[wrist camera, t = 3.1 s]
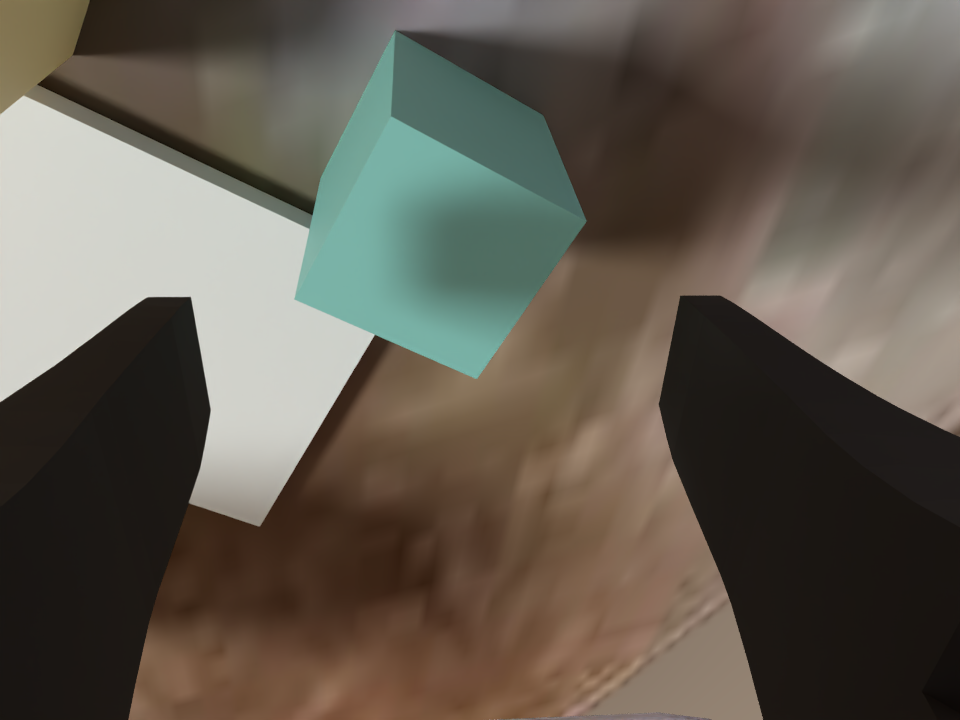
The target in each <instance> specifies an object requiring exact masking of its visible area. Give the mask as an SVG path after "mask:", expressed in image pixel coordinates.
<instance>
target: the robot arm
mask: <svg viewBox="0 0 960 720" xmlns="http://www.w3.org/2000/svg"><path fill="white" fill-rule="evenodd" d="M659 407H660V411H661V416H662V420H663V424H664V428H665V433H666V437H667V440H668V444H669V448H670V452H671V455H672V459H673V462H674V464H675V467H676V469H677V472H678V474H679V477H680V479H681V481H682V484H683V486H684V489H685V491H686V494H687V496H688V499H689V501H690V503H691V506H692V508H693V510H694V513H695V515H696V518H697V520H698V522H699V525H700V527H701V529H702V532H703V534H704V536H705V539H706V541H707V544H708V546H709V548H710V551H711V553H712V555H713V558H714V560H715V563H716V565H717V567H718V570H719V572H720V574H721V577H722V580H723V582H724V585H725V588H726V591H727V593H728V596H729V599H730V602H731V605H732V608H733V612H734V615H735V618H736V622H737V625H738V628H739V632H740V635H741V639H742V642H743V645H744V649H745V653H746V656H747V660H748V663H749V667H750V671H751V674H752V678H753V682H754V686H755V690H756V694H757V697H758V701H759V705H760V709H761V713H762V716H763V720H960V437H958V436H956V435H954V434H952V433H949V432H947V431H945V430H943V429H941V428H939V427H937V426H935V425H933V424H931V423H929V422H927V421H925V420H923V419H921V418H918V417H916V416H914V415H912V414H910V413H908V412H906V411H904V410H902V409H900V408H898V407H897V406H895V405H893V404H891V403H889V402H887V401H885V400H884V399H882V398H880V397H878V396H876V395H875V394H873V393H871V392H870V391H868V390H866V389H865V388H863V387H861V386H860V385H858V384H856V383H854V382H853V381H851V380H849V379H848V378H846V377H844V376H843V375H841V374H839V373H838V372H836V371H835V370H833V369H832V368H830V367H828V366H827V365H825V364H824V363H822V362H821V361H819V360H818V359H816V358H814V357H813V356H811V355H810V354H808V353H807V352H805V351H804V350H802V349H801V348H799V347H798V346H796V345H795V344H794V343H792V342H791V341H789V340H788V339H786V338H785V337H783V336H782V335H780V334H779V333H777V332H776V331H775V330H773V329H772V328H770V327H769V326H767V325H766V324H764V323H763V322H761V321H760V320H758V319H757V318H756V317H754V316H753V315H751V314H750V313H748V312H747V311H745V310H744V309H742V308H740V307H739V306H737V305H736V304H734V303H732V302H731V301H729V300H727V299H725V298H724V297H722V296H680V301H679V306H678V311H677V316H676V321H675V326H674V331H673V336H672V341H671V346H670V351H669V356H668V361H667V366H666V371H665V376H664V381H663V387H662V392H661V397H660V402H659ZM210 413H211V408H210V402H209V397H208V391H207V385H206V379H205V374H204V368H203V362H202V357H201V351H200V345H199V340H198V334H197V328H196V323H195V317H194V311H193V306H192V300H191V297H147V298H145V299H144V300H142V301H141V302H139V303H138V304H136V305H135V306H133V307H132V308H130V309H129V310H128V311H126V312H125V313H124V314H122V315H121V316H120V317H118V318H117V319H116V320H115V321H113V322H112V323H111V324H109V325H108V326H107V327H105V328H104V329H103V330H101V331H100V332H99V333H98V334H96V335H95V336H94V337H92V338H91V339H90V340H88V341H87V342H86V343H84V344H83V345H81V346H80V347H79V348H77V349H76V350H75V351H73V352H72V353H71V354H69V355H68V356H67V357H65V358H64V359H63V360H61V361H60V362H59V363H57V364H56V365H55V366H53V367H52V368H50V369H49V370H47V371H46V372H44V373H43V374H41V375H40V376H38V377H37V378H35V379H34V380H32V381H31V382H29V383H28V384H26V385H25V386H23V387H22V388H20V389H19V390H17V391H16V392H14V393H13V394H11V395H10V396H9V397H7V398H6V399H4V400H3V401H1V402H0V720H128V718H129V713H130V708H131V703H132V698H133V693H134V688H135V683H136V679H137V674H138V670H139V665H140V661H141V656H142V652H143V647H144V643H145V638H146V634H147V629H148V625H149V620H150V617H151V614H152V610H153V607H154V603H155V600H156V597H157V593H158V590H159V587H160V584H161V582H162V579H163V576H164V573H165V570H166V567H167V564H168V561H169V559H170V556H171V553H172V550H173V547H174V544H175V541H176V538H177V535H178V533H179V530H180V527H181V524H182V521H183V518H184V515H185V512H186V509H187V507H188V504H189V501H190V498H191V495H192V492H193V489H194V486H195V483H196V480H197V477H198V474H199V471H200V467H201V462H202V457H203V452H204V447H205V442H206V436H207V431H208V425H209V419H210ZM501 720H710V719H706V718H698V717H690V716H681V715H674V714H665V713H639V714H616V715H592V716H570V717H547V718H524V719H501Z"/></svg>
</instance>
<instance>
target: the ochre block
mask: <svg viewBox="0 0 960 720" xmlns="http://www.w3.org/2000/svg"><path fill="white" fill-rule="evenodd" d="M89 2H90V0H0V114H1V113H3V112H4V111H5V110H6V109H8V108H9V107H10V106H11V105H12V104H14V103H15V102H16V101H17V100H19V99H20V98H21V97H22V96H23V95H25V94H26V93H27V92H28V91H30V90H31V89H32V88H33V87H34V86H36V85H37V84H38V83H39V82H41V81H42V80H43V79H44V78H46V77H47V76H48V75H49V74H50V73H52V72H53V71H54V70H55V69H57V68H58V67H59V66H60V65H61V64H63V63H64V62H65V61H66V60H68V59H69V58H70V57H71V56H72V55H73V53H74V50H75V46H76V43H77V40H78V37H79V34H80V31H81V27H82V24H83V21H84V18H85V15H86V12H87V8H88V5H89Z"/></svg>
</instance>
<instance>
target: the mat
mask: <svg viewBox="0 0 960 720" xmlns="http://www.w3.org/2000/svg"><path fill="white" fill-rule="evenodd" d="M312 216H313V215H311V214H309V213H306V212H304V211H302V210H300V209H298V208H296V207H294V206H292V205H290V204H288V203H285V202H283V201H281V200H279V199H277V198H275V197H273V196H271V195H269V194H266V193H264V192H262V191H260V190H258V189H256V188H254V187H252V186H250V185H247V184H245V183H243V182H241V181H239V180H237V179H235V178H233V177H231V176H229V175H226V174H224V173H222V172H220V171H218V170H216V169H214V168H212V167H210V166H207V165H205V164H203V163H201V162H199V161H197V160H195V159H193V158H191V157H189V156H186V155H184V154H182V153H180V152H178V151H176V150H174V149H172V148H170V147H167V146H165V145H163V144H161V143H159V142H157V141H155V140H153V139H151V138H148V137H146V136H144V135H142V134H140V133H138V132H136V131H134V130H132V129H130V128H127V127H125V126H123V125H121V124H119V123H117V122H115V121H113V120H111V119H108V118H106V117H104V116H102V115H100V114H98V113H96V112H94V111H92V110H90V109H87V108H85V107H83V106H81V105H79V104H77V103H75V102H73V101H71V100H68V99H66V98H64V97H62V96H60V95H58V94H56V93H54V92H52V91H49V90H47V89H45V88H43V87H41V86H39V85H36V86H34V87H33V88H32V89H31V90H30V91H28V92H27V93H26V94H25V95H23V96H22V97H21V98H20V99H19V100H17V101H16V102H15V103H14V104H12V105H11V106H10V107H9V108H8V109H6V110H5V111H4V112H3V113H1V114H0V402H1V401H3V400H4V399H6V398H7V397H9V396H10V395H11V394H13V393H14V392H16V391H17V390H19V389H20V388H22V387H23V386H25V385H26V384H28V383H29V382H31V381H32V380H34V379H35V378H37V377H38V376H40V375H41V374H43V373H44V372H46V371H47V370H49V369H50V368H52V367H53V366H55V365H56V364H57V363H59V362H60V361H61V360H63V359H64V358H65V357H67V356H68V355H69V354H71V353H72V352H73V351H75V350H76V349H77V348H79V347H80V346H81V345H83V344H84V343H86V342H87V341H88V340H90V339H91V338H92V337H94V336H95V335H96V334H98V333H99V332H100V331H101V330H103V329H104V328H105V327H107V326H108V325H109V324H111V323H112V322H113V321H115V320H116V319H117V318H118V317H120V316H121V315H122V314H124V313H125V312H126V311H128V310H129V309H130V308H132V307H133V306H135V305H136V304H138V303H139V302H141V301H142V300H144V299H145V298H147V297H191V300H192V306H193V311H194V317H195V323H196V328H197V334H198V340H199V345H200V351H201V357H202V362H203V368H204V374H205V379H206V385H207V391H208V397H209V402H210V408H211V413H210V419H209V425H208V431H207V436H206V442H205V447H204V452H203V457H202V462H201V467H200V471H199V474H198V477H197V480H196V483H195V486H194V489H193V492H192V495H191V498H190V501H189V503H190V504H193V505H196V506H199V507H202V508H205V509H208V510H211V511H214V512H217V513H220V514H223V515H226V516H229V517H232V518H235V519H238V520H241V521H244V522H247V523H250V524H253V525H256V526H259V527H260V525H261V524H262V522H263V520H264V519H265V517H266V515H267V514H268V512H269V510H270V509H271V507H272V505H273V504H274V502H275V500H276V499H277V497H278V495H279V494H280V492H281V490H282V489H283V487H284V485H285V484H286V482H287V480H288V479H289V477H290V475H291V474H292V472H293V470H294V469H295V467H296V465H297V464H298V462H299V460H300V459H301V457H302V455H303V454H304V452H305V450H306V449H307V447H308V445H309V444H310V442H311V440H312V439H313V437H314V435H315V434H316V432H317V430H318V429H319V427H320V425H321V424H322V422H323V420H324V419H325V417H326V415H327V414H328V412H329V410H330V409H331V407H332V405H333V404H334V402H335V400H336V399H337V397H338V395H339V394H340V392H341V390H342V389H343V387H344V385H345V384H346V382H347V380H348V379H349V377H350V375H351V374H352V372H353V370H354V369H355V367H356V365H357V364H358V362H359V360H360V359H361V357H362V355H363V354H364V352H365V350H366V349H367V347H368V345H369V344H370V342H371V340H372V339H373V337H374V335H375V334H372V333H370V332H368V331H365V330H363V329H361V328H358V327H356V326H354V325H352V324H349V323H347V322H345V321H342V320H340V319H338V318H336V317H333V316H331V315H329V314H326V313H324V312H322V311H319V310H317V309H315V308H313V307H310V306H308V305H306V304H303V303H301V302H299V301H297V300H294V298H295V294H296V289H297V284H298V280H299V275H300V271H301V266H302V262H303V257H304V252H305V248H306V243H307V239H308V234H309V230H310V225H311V220H312Z"/></svg>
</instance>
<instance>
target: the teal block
mask: <svg viewBox="0 0 960 720" xmlns="http://www.w3.org/2000/svg"><path fill="white" fill-rule="evenodd" d="M585 223H586V218H585V216H584V213H583V211H582V209H581V206H580V204H579V201H578V199H577V196H576V194H575V191H574V189H573V187H572V184H571V182H570V179H569V177H568V174H567V172H566V170H565V167H564V165H563V162H562V160H561V157H560V155H559V152H558V150H557V148H556V145H555V143H554V140H553V138H552V135H551V133H550V131H549V128H548V126H547V123H546V121H545V118H544V116H543V115H542V114H540V113H538V112H537V111H535V110H533V109H531V108H530V107H528V106H526V105H524V104H523V103H521V102H519V101H517V100H516V99H514V98H512V97H510V96H509V95H507V94H505V93H503V92H502V91H500V90H498V89H497V88H495V87H493V86H491V85H490V84H488V83H486V82H484V81H483V80H481V79H479V78H477V77H476V76H474V75H472V74H470V73H469V72H467V71H465V70H463V69H462V68H460V67H458V66H457V65H455V64H453V63H451V62H450V61H448V60H446V59H444V58H443V57H441V56H439V55H437V54H436V53H434V52H432V51H430V50H429V49H427V48H425V47H423V46H422V45H420V44H418V43H417V42H415V41H413V40H411V39H410V38H408V37H406V36H404V35H403V34H401V33H399V32H397V31H396V30H395V31H394V33H393V35H392V37H391V39H390V41H389V43H388V45H387V47H386V49H385V51H384V53H383V55H382V57H381V59H380V61H379V63H378V65H377V67H376V69H375V71H374V73H373V75H372V77H371V79H370V81H369V83H368V85H367V87H366V89H365V91H364V93H363V95H362V97H361V99H360V101H359V103H358V105H357V107H356V109H355V111H354V113H353V115H352V117H351V119H350V121H349V123H348V125H347V127H346V129H345V131H344V133H343V135H342V137H341V139H340V141H339V143H338V145H337V147H336V149H335V151H334V153H333V155H332V157H331V159H330V160H329V162H328V164H327V166H326V168H325V170H324V172H323V174H322V176H321V179H320V184H319V188H318V193H317V198H316V202H315V207H314V211H313V216H312V220H311V225H310V230H309V234H308V239H307V243H306V248H305V252H304V257H303V262H302V266H301V271H300V275H299V280H298V284H297V289H296V294H295V298H294V300H297V301H299V302H301V303H303V304H306V305H308V306H310V307H313V308H315V309H317V310H319V311H322V312H324V313H326V314H329V315H331V316H333V317H336V318H338V319H340V320H342V321H345V322H347V323H349V324H352V325H354V326H356V327H358V328H361V329H363V330H365V331H368V332H370V333H372V334H375V335H377V336H379V337H381V338H384V339H386V340H388V341H391V342H393V343H395V344H397V345H400V346H402V347H404V348H407V349H409V350H411V351H414V352H416V353H418V354H420V355H423V356H425V357H427V358H430V359H432V360H434V361H436V362H439V363H441V364H443V365H446V366H448V367H450V368H453V369H455V370H457V371H459V372H462V373H464V374H466V375H469V376H471V377H473V378H475V379H477V378H478V377H479V375H480V374H481V372H482V371H483V369H484V368H485V367H486V365H487V364H488V362H489V361H490V359H491V358H492V357H493V355H494V354H495V352H496V351H497V349H498V348H499V346H500V345H501V344H502V342H503V341H504V339H505V338H506V336H507V335H508V334H509V332H510V331H511V329H512V328H513V326H514V325H515V323H516V322H517V321H518V319H519V318H520V316H521V315H522V313H523V312H524V311H525V309H526V308H527V306H528V305H529V303H530V302H531V301H532V299H533V298H534V296H535V295H536V293H537V292H538V290H539V289H540V288H541V286H542V285H543V283H544V282H545V280H546V279H547V278H548V276H549V275H550V273H551V272H552V270H553V269H554V267H555V266H556V265H557V263H558V262H559V260H560V259H561V257H562V256H563V255H564V253H565V252H566V250H567V249H568V247H569V246H570V244H571V243H572V242H573V240H574V239H575V237H576V236H577V234H578V233H579V232H580V230H581V229H582V227H583V226H584V224H585Z"/></svg>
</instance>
